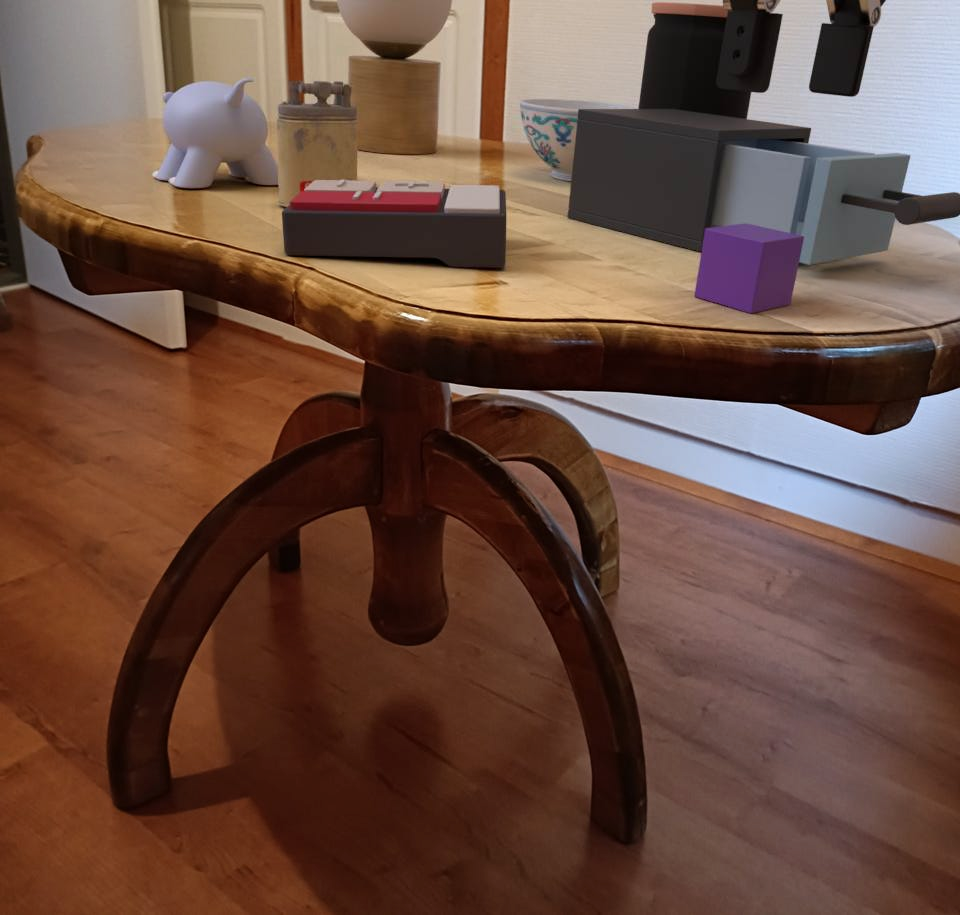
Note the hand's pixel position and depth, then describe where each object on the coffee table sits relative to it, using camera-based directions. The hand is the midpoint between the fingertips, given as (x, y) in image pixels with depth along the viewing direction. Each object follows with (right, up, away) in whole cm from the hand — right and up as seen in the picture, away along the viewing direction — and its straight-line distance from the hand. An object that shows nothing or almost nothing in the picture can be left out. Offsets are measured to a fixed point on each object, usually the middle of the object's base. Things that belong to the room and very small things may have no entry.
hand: (789, 92), depth 57 cm
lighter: (-32, 0, +26) cm, 41 cm away
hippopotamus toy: (-44, +5, +34) cm, 56 cm away
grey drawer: (+7, -5, +18) cm, 20 cm away
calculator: (-24, -6, +13) cm, 28 cm away
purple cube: (-1, -12, +5) cm, 13 cm away
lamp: (-30, +18, +66) cm, 75 cm away
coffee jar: (+2, +5, +42) cm, 42 cm away
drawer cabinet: (-1, -2, +27) cm, 27 cm away
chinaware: (-7, +10, +51) cm, 52 cm away
